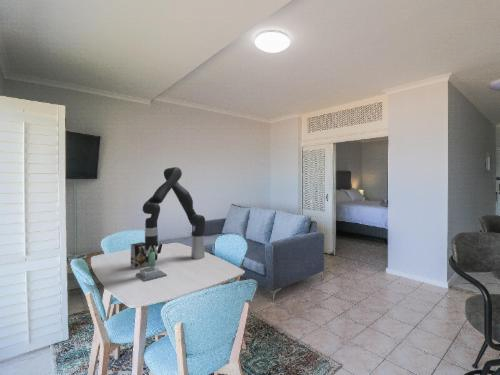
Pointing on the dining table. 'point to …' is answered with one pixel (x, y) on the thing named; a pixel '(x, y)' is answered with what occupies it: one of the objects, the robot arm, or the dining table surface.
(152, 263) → the green bottle
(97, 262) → the dining table surface
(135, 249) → the coffee box
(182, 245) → the dining table surface
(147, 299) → the dining table surface
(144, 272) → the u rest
